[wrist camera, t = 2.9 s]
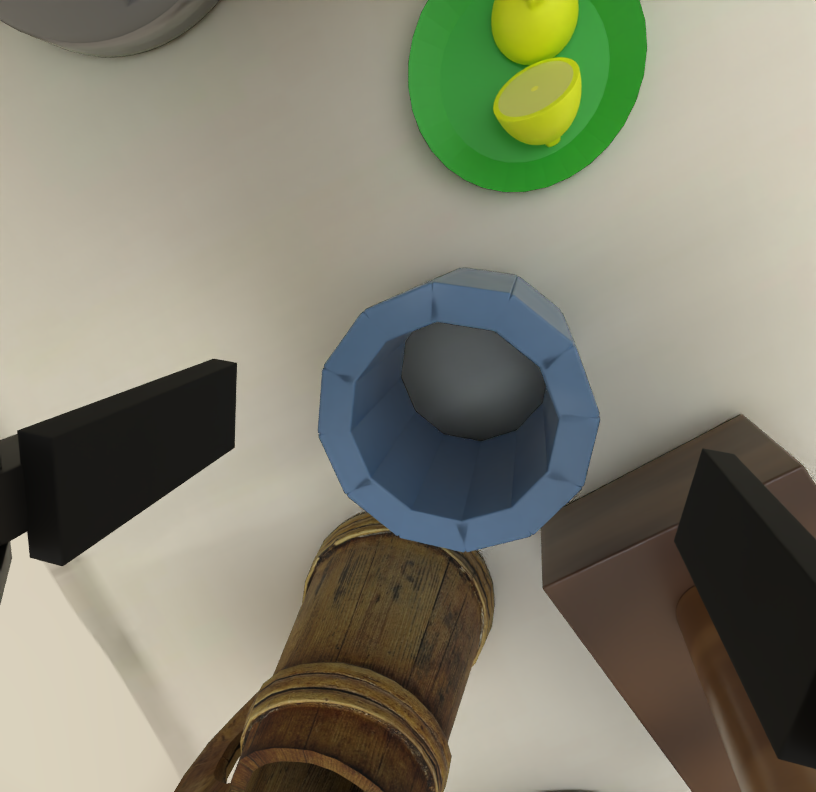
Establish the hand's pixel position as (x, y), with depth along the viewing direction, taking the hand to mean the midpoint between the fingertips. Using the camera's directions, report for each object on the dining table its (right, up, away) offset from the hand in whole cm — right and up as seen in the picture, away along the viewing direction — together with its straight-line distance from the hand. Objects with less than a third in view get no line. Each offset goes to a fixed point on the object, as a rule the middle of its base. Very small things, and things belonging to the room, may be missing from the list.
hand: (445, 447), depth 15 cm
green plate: (+3, +13, +4) cm, 14 cm away
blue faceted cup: (+2, +3, +7) cm, 8 cm away
